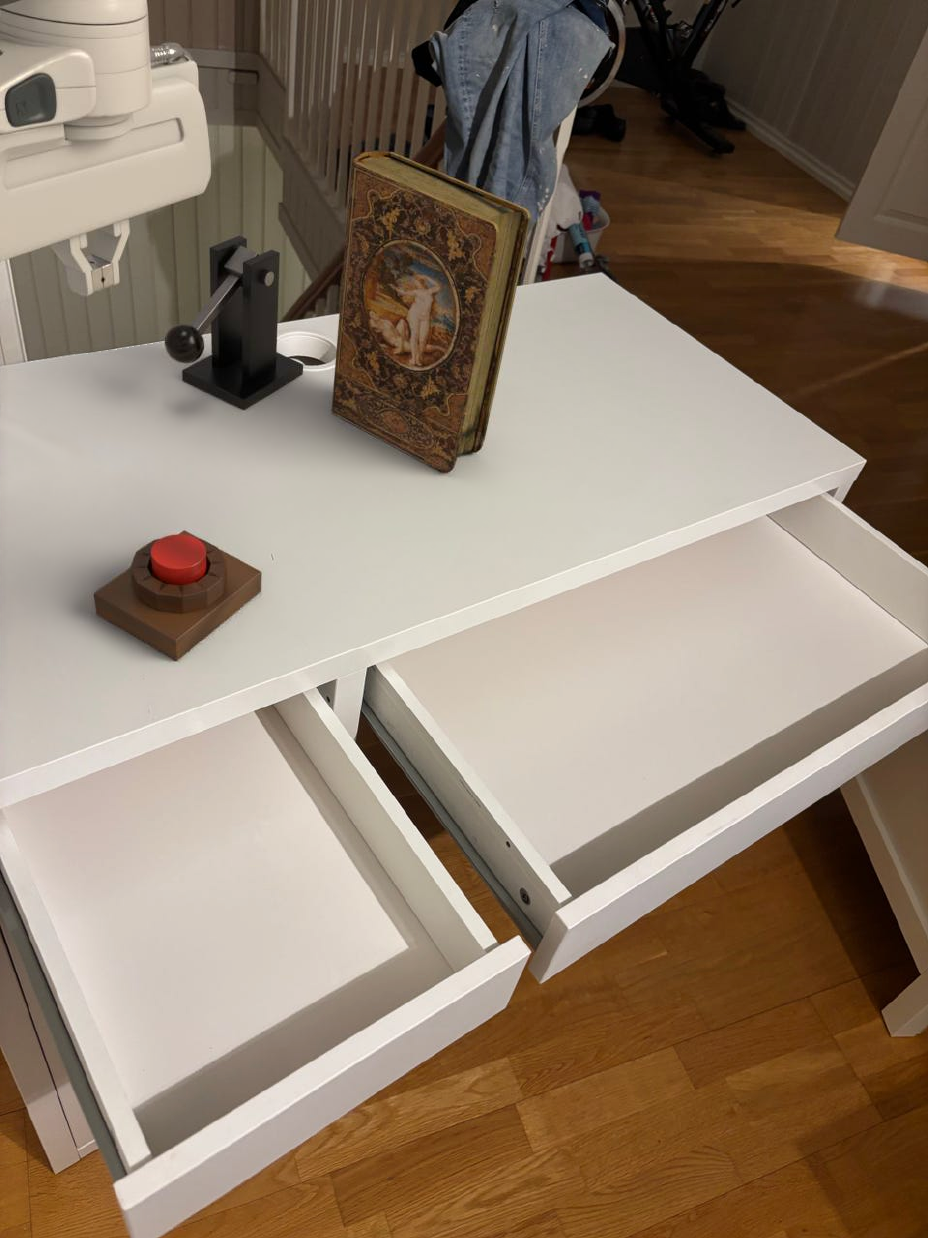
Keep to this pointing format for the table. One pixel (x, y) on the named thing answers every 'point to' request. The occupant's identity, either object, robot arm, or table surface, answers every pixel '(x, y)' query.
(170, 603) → the button block
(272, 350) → the bracket
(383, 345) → the book
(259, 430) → the table surface
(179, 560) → the button
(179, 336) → the lever
